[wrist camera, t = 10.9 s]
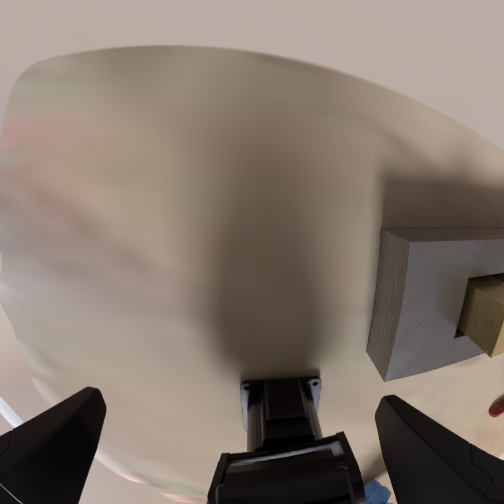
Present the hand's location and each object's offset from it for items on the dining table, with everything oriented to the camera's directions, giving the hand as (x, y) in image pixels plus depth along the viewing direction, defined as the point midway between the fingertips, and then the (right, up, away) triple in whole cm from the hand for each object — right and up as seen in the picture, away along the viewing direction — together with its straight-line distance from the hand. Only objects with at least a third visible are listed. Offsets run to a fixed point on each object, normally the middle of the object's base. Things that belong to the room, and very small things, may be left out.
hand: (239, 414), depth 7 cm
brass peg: (+17, +2, +12) cm, 21 cm away
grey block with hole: (+17, +2, +12) cm, 21 cm away
